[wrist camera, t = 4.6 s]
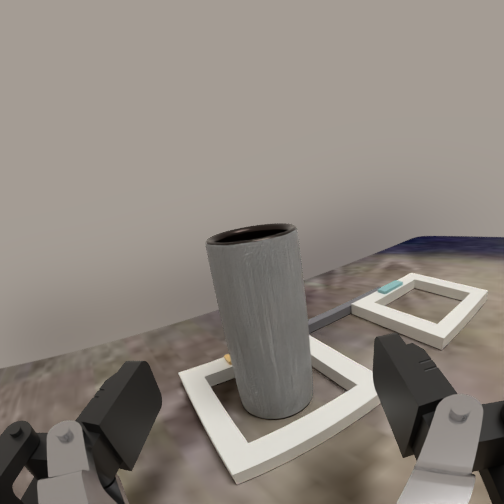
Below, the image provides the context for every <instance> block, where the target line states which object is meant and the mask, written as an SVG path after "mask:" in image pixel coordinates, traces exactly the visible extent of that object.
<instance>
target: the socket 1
mask: <svg viewBox="0 0 504 504" xmlns="http://www.w3.org/2000/svg"><path fill="white" fill-rule="evenodd" d="M309 339H310V351H311V363H312V366H313V367H314V368H316V369H317V370H318V371H320V372H321V373H323V374H324V375H326V376H327V377H328V378H330V379H331V380H333V381H334V382H336V383H337V384H339V385H340V386H342V387H343V388H344V389H346V390H347V392H345V393H344V394H342V395H341V396H339V397H337V398H336V399H334V400H332V401H331V402H329V403H327V404H326V405H324V406H322V407H320V408H319V409H317V410H315V411H313V412H311V413H310V414H308V415H306V416H304V417H302V418H300V419H298V420H296V421H294V422H293V423H291V424H289V425H287V426H285V427H283V428H281V429H279V430H276V431H274V432H272V433H270V434H268V435H266V436H264V437H261V438H259V439H257V440H255V441H252V442H250V443H248V442H247V441H246V439H245V438H244V436H243V435H242V434H241V432H240V431H239V429H238V428H237V426H236V425H235V424H234V422H233V421H232V419H231V418H230V416H229V415H228V413H227V412H226V410H225V409H224V407H223V406H222V404H221V403H220V401H219V400H218V398H217V396H216V395H215V393H214V392H213V390H212V389H211V386H214V385H216V384H219V383H222V382H225V381H227V380H230V379H232V378H235V375H234V371H233V367H232V363H231V359H230V355H229V354H227V355H224V357H223V358H221V359H218V360H215V361H212V362H209V363H206V364H203V365H200V366H198V367H195V368H191V369H188V370H185V371H182V372H179V376H180V378H181V381H182V384H183V386H184V388H185V390H186V392H187V394H188V397H189V399H190V401H191V403H192V405H193V407H194V409H195V411H196V413H197V415H198V417H199V419H200V421H201V423H202V425H203V427H204V429H205V430H206V432H207V434H208V436H209V438H210V440H211V442H212V443H213V445H214V447H215V449H216V451H217V452H218V454H219V456H220V458H221V459H222V461H223V463H224V464H225V466H226V468H227V470H228V471H229V473H230V474H231V476H232V478H233V479H234V481H235V483H236V484H237V485H238V484H240V483H243V482H245V481H247V480H250V479H252V478H254V477H257V476H259V475H261V474H263V473H266V472H268V471H270V470H272V469H274V468H276V467H278V466H280V465H282V464H284V463H286V462H288V461H290V460H292V459H294V458H296V457H298V456H300V455H301V454H303V453H305V452H307V451H309V450H310V449H312V448H314V447H316V446H317V445H319V444H321V443H323V442H324V441H326V440H328V439H329V438H331V437H332V436H334V435H336V434H337V433H339V432H340V431H342V430H343V429H345V428H346V427H348V426H349V425H351V424H352V423H354V422H355V421H357V420H358V419H360V418H361V417H363V416H364V415H365V414H367V413H368V412H370V411H371V410H372V409H374V408H375V407H376V406H378V405H379V404H380V403H381V402H380V400H379V397H378V395H377V393H376V390H375V387H374V383H373V372H372V371H371V370H369V369H367V368H365V367H364V366H362V365H360V364H358V363H356V362H355V361H353V360H351V359H349V358H348V357H346V356H344V355H342V354H341V353H339V352H337V351H336V350H334V349H332V348H330V347H329V346H327V345H325V344H324V343H322V342H320V341H319V340H317V339H315V338H313V337H312V336H310V335H309Z"/></svg>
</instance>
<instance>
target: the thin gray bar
mask: <svg viewBox="0 0 504 504" xmlns="http://www.w3.org/2000/svg"><path fill="white" fill-rule="evenodd" d="M379 288H381V287H377V288H375V289H373V290H371V291H369V292H367V293H365V294H363V295H361V296H359V297H357V298H355V299H353V300H351V301H349V302H346V303H344V304H342V305H340V306H338V307H336V308H333V309H331V310H329V311H327V312H325V313H322V314H320V315H318V316H316V317H313V318H311V319H309V320H308V328H309V333H311V332H313V331H315V330H317V329H319V328H322V327H324V326H326V325H328V324H330V323H332V322H334V321H336V320H338V319H340V318H342V317H344V316H346V315H348V314H350V313H352V310H351V304H352V303H354V302H356V301H358V300H360V299H362V298H364V297H366V296H368V295H370V294H372V293H374V292H376V291H378V289H379Z"/></svg>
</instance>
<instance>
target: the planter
mask: <svg viewBox="0 0 504 504" xmlns="http://www.w3.org/2000/svg"><path fill="white" fill-rule="evenodd" d="M206 249H207V255H208V260H209V264H210V270H211V274H212V279H213V284H214V289H215V293H216V298H217V303H218V307H219V312H220V316H221V321H222V325H223V329H224V334H225V338H226V342H227V346H228V351H229V355H230V359H231V363H232V367H233V371H234V375H235V379H236V383H237V387H238V391H239V395H240V398H241V401H242V404H243V406H244V408H245V409H246V410H247V411H248V412H249V413H251V414H253V415H255V416H257V417H260V418H266V419H279V418H285V417H288V416H291V415H294V414H296V413H298V412H299V411H301V410H302V409H304V408H305V407H306V406H307V405H308V404H309V402H310V401H311V399H312V396H313V377H312V363H311V351H310V339H309V328H308V318H307V308H306V298H305V289H304V280H303V272H302V263H301V255H300V247H299V240H298V232H297V228H296V227H295V226H294V225H292V224H265V225H257V226H250V227H244V228H240V229H234V230H230V231H226V232H223V233H220V234H217V235H214V236H212V237H210V238H209V239H207V241H206Z"/></svg>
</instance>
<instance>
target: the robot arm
mask: <svg viewBox="0 0 504 504" xmlns="http://www.w3.org/2000/svg"><path fill="white" fill-rule="evenodd" d="M373 383H374V387H375V390H376V393H377V395H378V397H379V400H380V402H381V404H382V407H383V409H384V412H385V414H386V416H387V419H388V421H389V424H390V426H391V429H392V431H393V434H394V436H395V439H396V441H397V444H398V446H399V449H400V452H401V454H402V457H403V458H405V457H408V456H411V455H415V458H416V460H417V462H416V464H415V467H414V469H413V471H412V473H411V475H410V478H409V480H408V482H407V484H406V486H405V488H404V490H403V492H402V494H401V496H400V498H399V500H398V501H397V503H396V504H468V503H469V500H470V497H471V494H472V491H473V487H474V483H475V475H474V474H472V472H473V471H478V470H479V473H480V475H481V477H482V480H483V482H484V484H485V487H486V489H487V492H488V494H489V497H490V499H491V502H492V504H504V401H499V402H494V403H488V404H481V403H480V402H479V401H478V400H477V399H476V398H474V397H472V396H470V395H466V394H457V392H456V391H455V390H454V388H453V387H452V386H451V384H450V383H449V382H448V380H447V379H446V377H445V376H444V375H443V374H442V372H441V371H440V370H439V368H437V367H436V364H435V363H434V362H433V360H431V358H430V357H429V355H428V354H427V353H426V352H425V350H424V349H422V348H420V347H419V346H417V345H415V344H413V343H411V344H407V345H406V344H405V342H404V341H403V340H402V338H401V337H400V336H399V334H398V333H392V334H388V335H383V336H379V337H376V338H375V341H374V359H373ZM161 405H162V396H161V393H160V390H159V388H158V385H157V383H156V381H155V378H154V376H153V373H152V371H151V368H150V366H149V364H148V363H147V362H146V361H126V362H125V363H124V364H123V366H122V367H121V368H120V369H119V371H118V372H117V373H116V374H114V375H113V376H111V377H110V378H109V379H107V380H106V381H105V382H104V384H103V385H102V386H101V388H100V391H97V393H96V394H95V395H94V398H92V399H91V401H90V402H89V403H88V405H87V406H86V407H85V409H84V410H83V411H82V413H81V414H80V415H79V417H78V418H77V419H76V421H71V420H68V421H63V422H60V423H58V424H56V425H55V426H53V427H52V428H51V429H50V431H49V432H48V433H36V432H35V431H34V429H33V428H32V427H31V425H30V424H29V423H28V422H26V421H17V422H14V423H12V424H11V425H9V426H8V427H7V428H6V430H5V431H4V432H3V433H2V434H1V436H0V504H129V502H128V499H127V497H126V494H125V491H124V489H123V486H122V483H121V480H120V478H119V476H118V475H117V474H116V473H117V471H118V469H119V468H120V469H124V470H129V471H132V469H133V467H134V465H135V463H136V461H137V458H138V456H139V454H140V452H141V450H142V447H143V445H144V443H145V441H146V439H147V437H148V435H149V432H150V430H151V428H152V426H153V424H154V422H155V419H156V417H157V415H158V413H159V411H160V409H161ZM24 466H25V467H26V468H27V469H28V470H29V472H30V473H31V474H32V475H33V476H34V478H33V480H32V482H31V483H30V485H29V487H28V488H27V490H26V492H25V493H24V495H23V497H22V498H21V500H20V499H19V498H17V497H16V496H15V494H14V492H13V489H12V485H13V483H14V481H15V479H16V478H17V476H18V475H19V473H20V472H21V470H22V469H23V467H24Z"/></svg>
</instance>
